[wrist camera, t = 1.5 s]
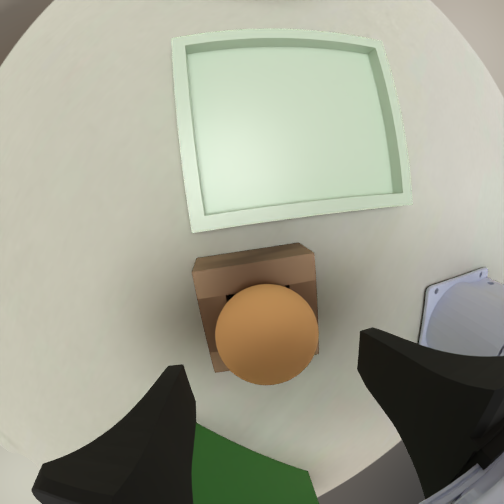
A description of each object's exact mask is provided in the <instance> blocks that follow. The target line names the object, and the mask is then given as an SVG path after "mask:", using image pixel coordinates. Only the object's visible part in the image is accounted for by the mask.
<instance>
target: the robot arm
mask: <svg viewBox="0 0 504 504" xmlns="http://www.w3.org/2000/svg"><path fill="white" fill-rule="evenodd" d="M487 275H488V269H487V268H486V267H483V268H480V269H478V270H475V271H472V272H469V273H467V274H464V275H461V276H458V277H455V278H452V279H449V280H447V281H444V282H441V283H437V284H434V285H431V286H429V287H428V288H427V290H426V297H425V306H424V314H423V321H422V328H421V334H420V340H419V344H417V343H414V342H411V341H408V340H405V339H403V338H400V337H398V336H395V335H392V334H390V333H387V332H385V331H382V330H379V329H376V328H369V329H366V330H362V331H360V342H359V355H358V367H357V370H358V372H359V374H360V376H361V378H362V380H363V381H364V383H365V385H366V387H367V388H368V390H369V391H370V393H371V394H372V395H373V397H374V398H375V400H376V401H377V402H378V404H379V405H380V406H381V408H382V409H383V410H384V412H385V413H386V414H387V416H388V417H389V419H390V420H391V421H392V423H393V424H394V426H395V427H396V429H397V431H398V433H399V435H400V437H401V439H402V440H403V442H404V444H405V446H406V449H407V451H408V453H409V455H410V457H411V459H412V461H413V464H414V467H415V469H416V471H417V474H418V477H419V480H420V483H421V486H422V489H423V492H424V496H425V500H424V501H423V502H420V503H419V504H450V503H452V502H453V501H454V500H455V501H454V502H453V504H504V284H502V283H499V282H497V281H495V280H492V279H490V278H488V277H487ZM435 289H436V290H435ZM195 429H196V401H195V398H194V396H193V393H192V390H191V387H190V384H189V381H188V378H187V375H186V372H185V369H184V366H183V365H173V366H168V367H167V368H166V369H165V371H164V372H163V373H162V374H161V376H160V377H159V378H158V379H157V381H156V382H155V383H154V385H153V386H152V387H151V388H150V390H149V391H148V392H147V393H146V394H145V396H144V397H143V398H142V399H141V400H140V401H139V402H138V403H137V404H136V405H135V407H134V408H133V409H132V410H131V411H130V412H129V413H128V414H127V415H126V416H125V417H124V418H123V419H121V420H120V421H119V422H118V423H117V424H116V425H114V426H113V427H112V428H111V429H110V430H108V431H107V432H105V433H104V434H103V435H101V436H100V437H98V438H97V439H95V440H94V441H92V442H91V443H89V444H87V445H86V446H84V447H82V448H80V449H78V450H76V451H74V452H72V453H70V454H68V455H66V456H63V457H61V458H58V459H55V460H53V461H50V462H47V463H44V464H43V465H42V467H41V469H40V471H39V473H38V476H37V478H36V480H35V483H34V485H33V488H32V493H33V495H34V496H35V497H36V499H37V500H39V501H40V502H41V503H42V504H193V493H192V459H193V449H194V439H195Z"/></svg>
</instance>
